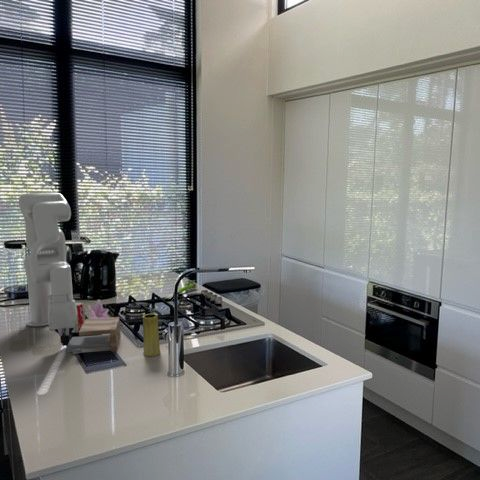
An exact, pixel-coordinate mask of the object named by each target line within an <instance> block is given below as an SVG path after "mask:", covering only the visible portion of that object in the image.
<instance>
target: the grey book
mask: <svg viewBox="0 0 480 480" xmlns="http://www.w3.org/2000/svg"><path fill="white" fill-rule="evenodd" d="M100 346H111V340H110V334H98V335H84V336H72V338H71V339H70V342H69V343H68V345H67V346H66V353H73V350H74V349H79V348H87V347H100Z"/></svg>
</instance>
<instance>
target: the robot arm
mask: <svg viewBox="0 0 480 480" xmlns="http://www.w3.org/2000/svg"><path fill="white" fill-rule="evenodd" d="M18 206H19V207H18V208H19V210H20V213H21V214H22V217H23V220H24V226H25V228H24V229H25V240H26V241H25V243H26V247H27V249H28V250H29V251H30V252H29V255H27V256H26V257H25V258H24V260H23V267H24V271H25V275H26V282H27V291H28V303H29V304H28V306H29V315H30V316H29V317H30V319H29V320H27V321H26V324H27V326H29V327H34V328H36V327H37V328H38V327H45V326H48V328H49V330H48V331H50V332H55V333H56V334H58V335H59V337H60V344H62V347H64V346H66V347H67V345H68V343H69V342H70V340H71V339H70V334H72V331H73V330H76V329H78V328H79V324H78V312H77V307H76V303H75V302H76V300H75V299H74V297H73V282H72V279H73V277H72V268H71V265H70V264H69V263H68V261H67V249H66V237H65V234H64V232H63V230H62V229H60V227H59V223H61V222H68V221H70V219H71V216H72V210H71V206H70V204H69V203H68V200H67V199H66V198H65V197H64V195H63V194H61V193H60V192H29V193H24V194H21V195H20V196H19V198H18ZM58 222H59V223H58ZM45 251H49V252H45ZM50 251H51V252H50ZM52 251H53V252H52ZM40 252H41V253H40ZM64 329H65V331H64Z"/></svg>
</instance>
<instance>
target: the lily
mask: <svg viewBox="0 0 480 480" xmlns="http://www.w3.org/2000/svg"><path fill="white" fill-rule="evenodd" d="M101 301H102V300H101V299H97V301H96V303H95V306H94V305H92V304H87V306H88V307H89V309H90V311H91V313H89V315H88V317H87V319H94V318H109V317H110V316H109V315H108V312H109V311H110V309H109V308H104V306H103V304H102V302H101Z"/></svg>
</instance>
